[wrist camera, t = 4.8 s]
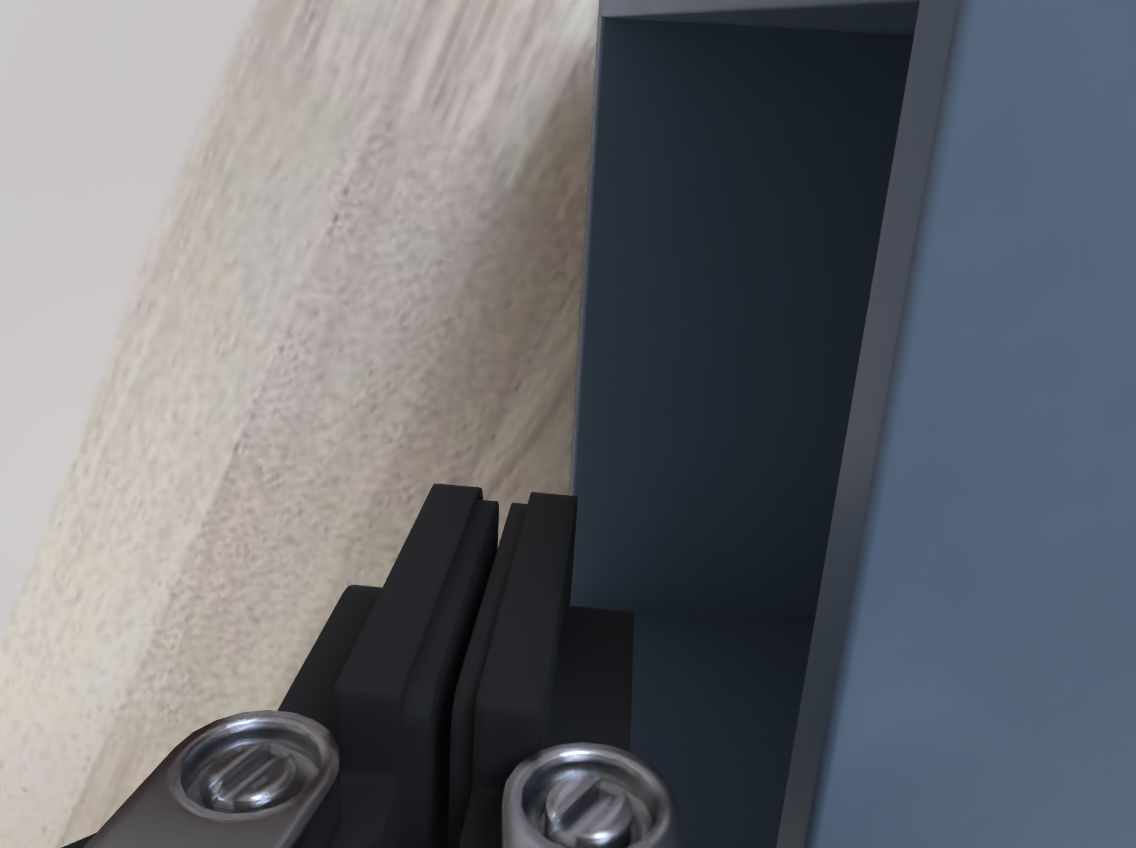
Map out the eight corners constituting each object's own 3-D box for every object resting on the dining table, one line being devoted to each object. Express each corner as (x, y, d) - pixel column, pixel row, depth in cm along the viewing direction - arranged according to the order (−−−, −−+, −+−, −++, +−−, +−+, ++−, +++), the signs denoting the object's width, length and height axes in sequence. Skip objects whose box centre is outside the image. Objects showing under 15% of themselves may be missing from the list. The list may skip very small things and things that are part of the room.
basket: (560, 623, 24) (693, 1462, 10) (599, -18, 19) (990, -138, 5) (882, 621, 25) (1419, 1391, 11) (1005, 9, 19) (2332, -28, 6)
